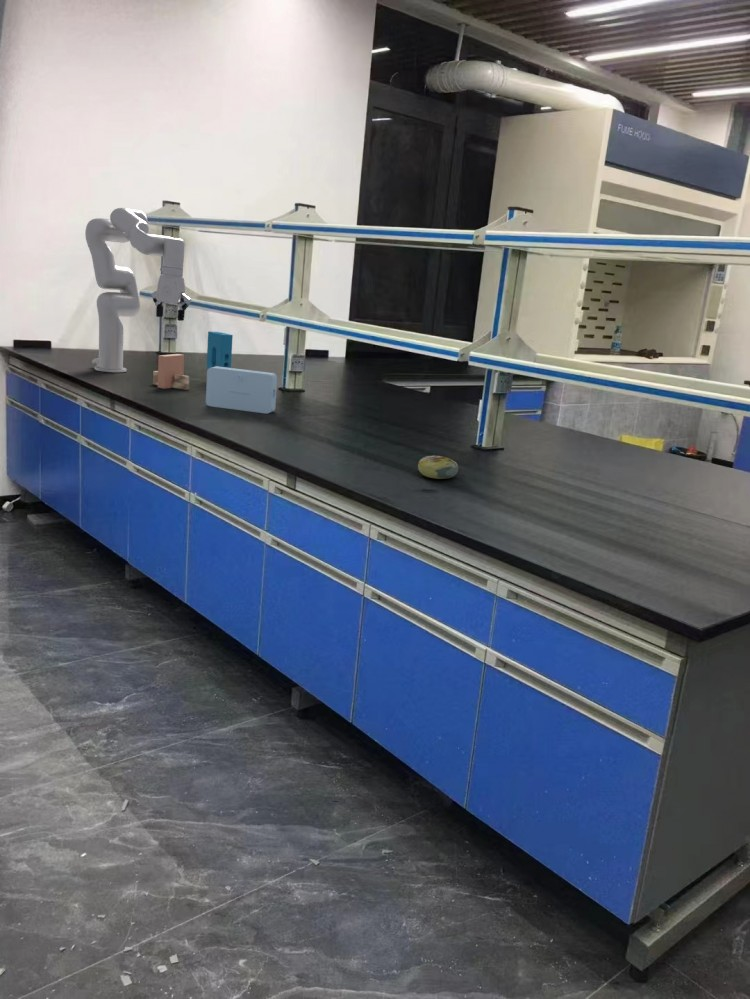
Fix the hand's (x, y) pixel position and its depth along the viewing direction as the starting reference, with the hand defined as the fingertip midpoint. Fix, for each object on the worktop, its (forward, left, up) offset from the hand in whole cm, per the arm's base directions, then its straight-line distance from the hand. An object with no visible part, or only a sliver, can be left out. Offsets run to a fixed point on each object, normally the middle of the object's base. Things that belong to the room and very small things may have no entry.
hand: (169, 318), depth 323 cm
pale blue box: (+46, -24, -26) cm, 58 cm away
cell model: (+132, -69, -26) cm, 151 cm away
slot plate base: (+4, -4, -25) cm, 26 cm away
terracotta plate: (+4, -4, -25) cm, 26 cm away
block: (+9, +22, -25) cm, 35 cm away
